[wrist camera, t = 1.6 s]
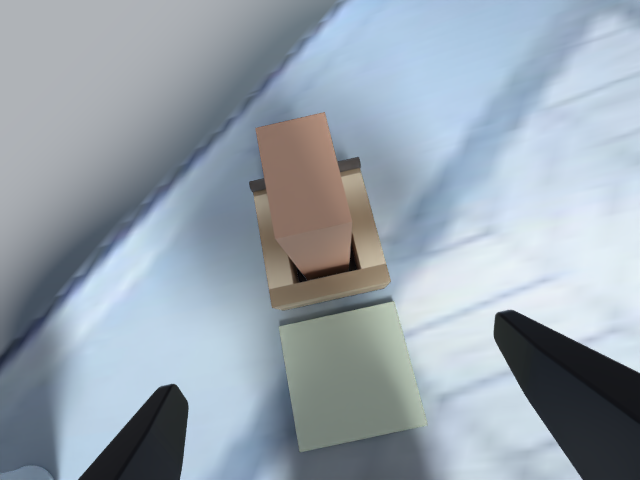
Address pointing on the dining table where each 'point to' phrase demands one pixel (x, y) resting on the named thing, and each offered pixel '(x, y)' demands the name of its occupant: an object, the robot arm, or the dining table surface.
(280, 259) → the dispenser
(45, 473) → the cup with straw
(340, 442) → the pad
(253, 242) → the dining table surface
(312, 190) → the pinkish tan rectangular block
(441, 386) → the dining table surface
